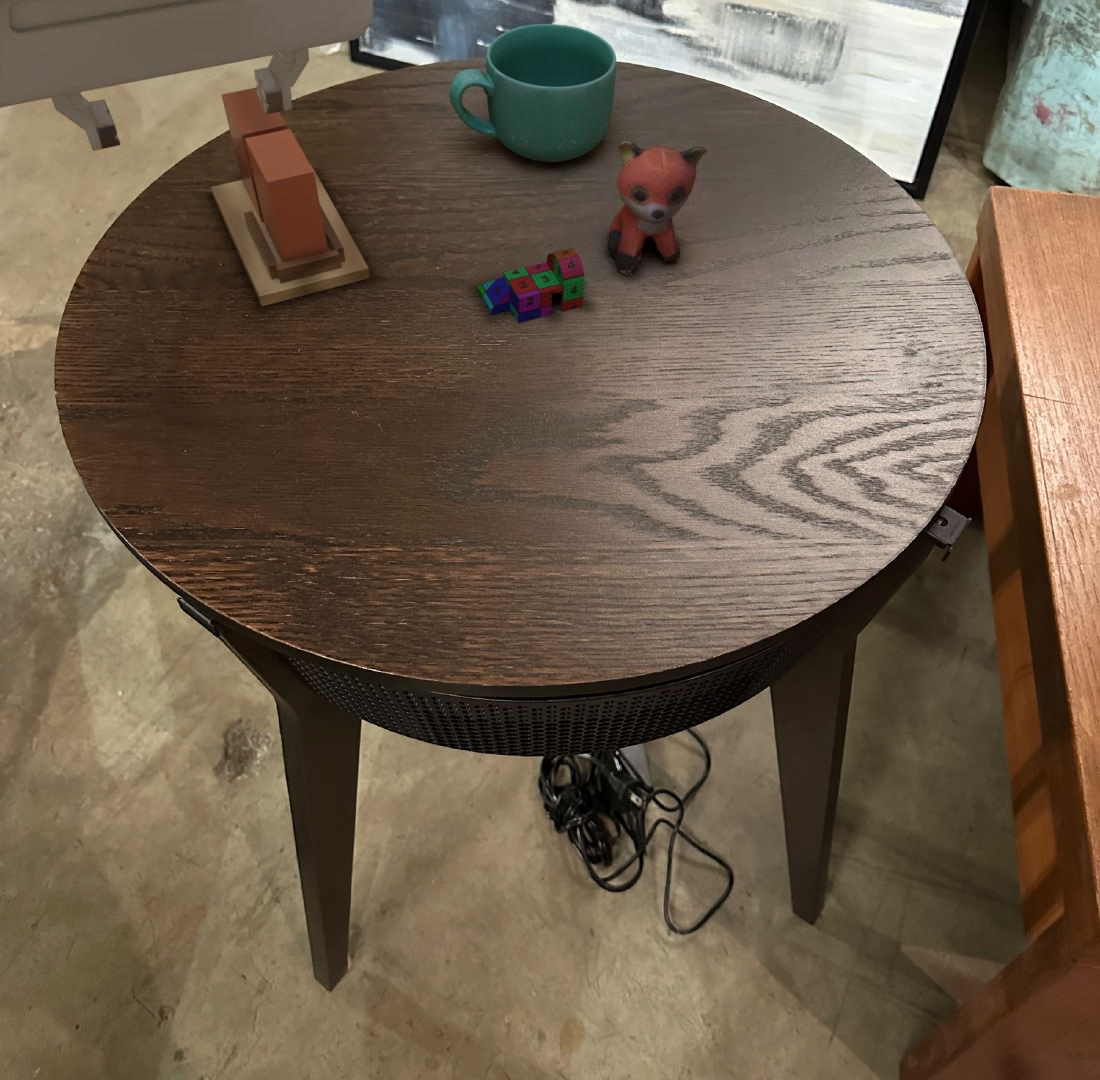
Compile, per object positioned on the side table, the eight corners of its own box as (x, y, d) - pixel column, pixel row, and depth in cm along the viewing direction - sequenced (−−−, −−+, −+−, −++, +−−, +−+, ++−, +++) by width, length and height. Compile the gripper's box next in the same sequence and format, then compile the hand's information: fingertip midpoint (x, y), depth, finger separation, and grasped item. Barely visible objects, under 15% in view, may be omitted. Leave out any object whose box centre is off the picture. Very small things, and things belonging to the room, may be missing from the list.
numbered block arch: (559, 269, 95) (560, 228, 91) (582, 306, 92) (585, 264, 88) (477, 289, 93) (475, 248, 89) (498, 327, 90) (498, 286, 86)
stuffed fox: (675, 208, 101) (692, 92, 91) (694, 282, 94) (714, 165, 84) (599, 210, 100) (607, 93, 91) (612, 284, 93) (622, 167, 84)
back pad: (286, 271, 92) (266, 182, 84) (265, 227, 95) (244, 138, 88) (329, 260, 93) (314, 171, 86) (306, 216, 96) (290, 128, 89)
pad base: (261, 307, 90) (236, 206, 82) (213, 197, 100) (186, 98, 92) (370, 278, 93) (356, 178, 85) (312, 174, 103) (295, 75, 95)
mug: (593, 105, 112) (599, 17, 104) (623, 171, 104) (631, 81, 97) (442, 120, 109) (436, 31, 102) (462, 188, 102) (457, 98, 94)
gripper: (345, -201, 48) (350, 46, 61) (-133, -146, 42) (-18, 117, 54) (396, -114, 46) (390, 124, 59) (-97, -42, 40) (13, 207, 52)
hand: (191, 121), depth 56 cm, fingers open, 8 cm apart
